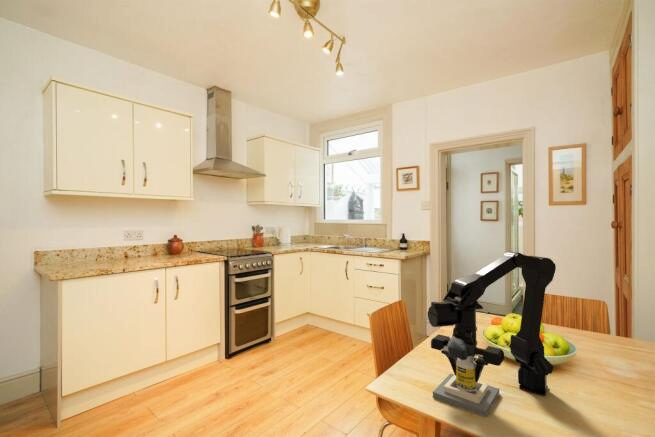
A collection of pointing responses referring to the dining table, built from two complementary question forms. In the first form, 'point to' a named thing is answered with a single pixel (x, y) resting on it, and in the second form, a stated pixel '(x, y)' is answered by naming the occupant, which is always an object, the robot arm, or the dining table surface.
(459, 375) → the supplement bottle
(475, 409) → the plate
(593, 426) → the dining table surface
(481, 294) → the robot arm
